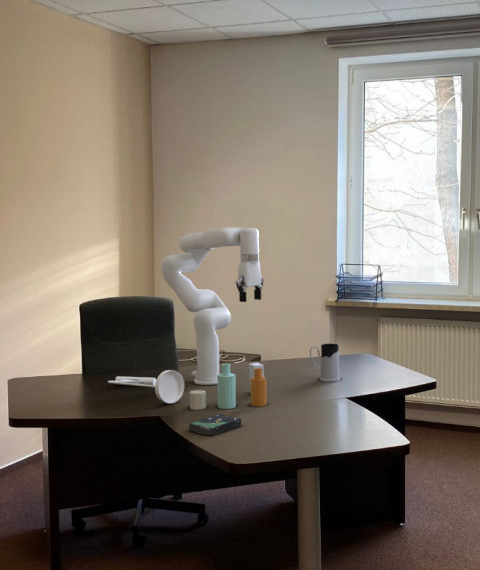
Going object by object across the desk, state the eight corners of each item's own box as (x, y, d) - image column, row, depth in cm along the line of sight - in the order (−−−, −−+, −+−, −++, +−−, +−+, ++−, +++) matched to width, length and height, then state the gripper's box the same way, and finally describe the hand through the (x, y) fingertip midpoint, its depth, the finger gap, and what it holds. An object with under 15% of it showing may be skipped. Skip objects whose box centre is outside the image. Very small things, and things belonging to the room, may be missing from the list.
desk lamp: (204, 370, 292) (137, 365, 322) (159, 370, 275) (92, 365, 306) (203, 401, 291) (135, 394, 321) (157, 404, 274) (90, 395, 305)
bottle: (214, 407, 273) (213, 364, 272) (225, 403, 279) (225, 361, 277) (227, 409, 270) (227, 366, 268) (239, 406, 275) (238, 363, 274)
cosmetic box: (265, 395, 292) (264, 364, 291) (254, 396, 290) (254, 365, 289) (259, 391, 298) (258, 362, 297) (248, 393, 296) (248, 363, 295)
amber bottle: (247, 405, 276) (247, 369, 275) (257, 402, 281) (256, 367, 280) (260, 407, 273) (259, 371, 272) (269, 404, 278) (269, 368, 276)
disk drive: (219, 421, 255) (188, 430, 243) (219, 413, 254) (188, 422, 243) (241, 426, 248) (211, 436, 237) (241, 418, 248) (211, 427, 236)
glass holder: (334, 382, 314) (333, 347, 313) (305, 378, 321) (305, 344, 320) (343, 378, 321) (343, 344, 320) (315, 375, 329) (315, 341, 328)
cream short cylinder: (186, 408, 273) (186, 392, 272) (197, 405, 277) (197, 389, 277) (198, 410, 269) (198, 394, 269) (209, 407, 274) (208, 391, 273)
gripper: (255, 257, 307) (256, 298, 308) (228, 259, 293) (229, 302, 294) (269, 257, 303) (270, 299, 304) (243, 259, 289) (244, 303, 290)
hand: (250, 300), depth 299 cm, fingers open, 9 cm apart
